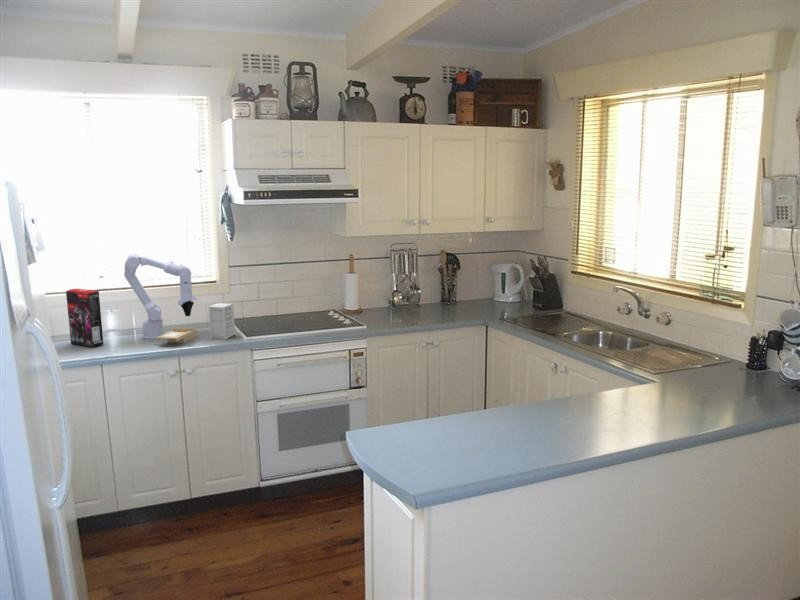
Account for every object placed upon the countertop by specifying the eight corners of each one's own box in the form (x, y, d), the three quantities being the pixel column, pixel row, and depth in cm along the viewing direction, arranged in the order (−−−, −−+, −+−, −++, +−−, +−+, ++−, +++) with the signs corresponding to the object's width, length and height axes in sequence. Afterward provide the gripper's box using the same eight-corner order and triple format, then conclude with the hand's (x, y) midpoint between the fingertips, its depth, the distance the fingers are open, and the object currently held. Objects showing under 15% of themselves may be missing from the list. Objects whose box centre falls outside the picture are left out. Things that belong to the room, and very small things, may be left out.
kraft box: (167, 342, 330) (166, 334, 329) (181, 335, 344) (181, 328, 343) (184, 343, 329) (183, 335, 328) (197, 336, 342) (197, 328, 341)
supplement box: (235, 335, 346) (234, 303, 343) (226, 339, 337) (224, 307, 334) (219, 334, 348) (217, 302, 345) (209, 338, 340) (207, 306, 336)
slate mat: (153, 345, 326) (153, 344, 326) (176, 334, 348) (176, 334, 347) (189, 347, 323) (189, 346, 323) (210, 336, 344) (210, 335, 344)
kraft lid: (157, 340, 323) (156, 333, 322) (172, 333, 336) (171, 327, 335) (177, 340, 321) (176, 334, 320) (191, 334, 334) (191, 327, 334)
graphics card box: (69, 344, 330) (64, 290, 325) (82, 341, 336) (76, 287, 331) (92, 348, 322) (87, 292, 317) (105, 344, 328) (100, 290, 323)
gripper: (186, 292, 336) (188, 319, 339) (200, 288, 350) (201, 313, 353) (173, 292, 337) (175, 318, 340) (187, 287, 351) (189, 312, 354)
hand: (187, 315), depth 346 cm, fingers closed
